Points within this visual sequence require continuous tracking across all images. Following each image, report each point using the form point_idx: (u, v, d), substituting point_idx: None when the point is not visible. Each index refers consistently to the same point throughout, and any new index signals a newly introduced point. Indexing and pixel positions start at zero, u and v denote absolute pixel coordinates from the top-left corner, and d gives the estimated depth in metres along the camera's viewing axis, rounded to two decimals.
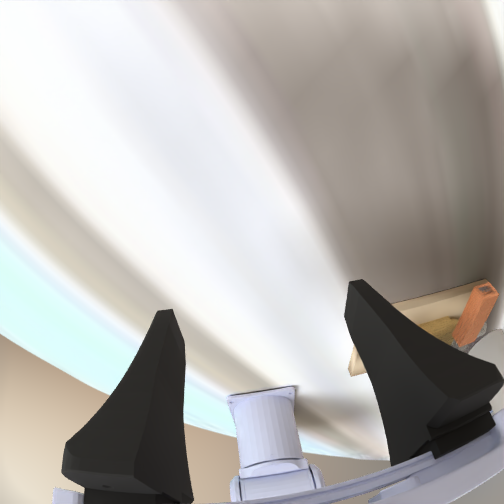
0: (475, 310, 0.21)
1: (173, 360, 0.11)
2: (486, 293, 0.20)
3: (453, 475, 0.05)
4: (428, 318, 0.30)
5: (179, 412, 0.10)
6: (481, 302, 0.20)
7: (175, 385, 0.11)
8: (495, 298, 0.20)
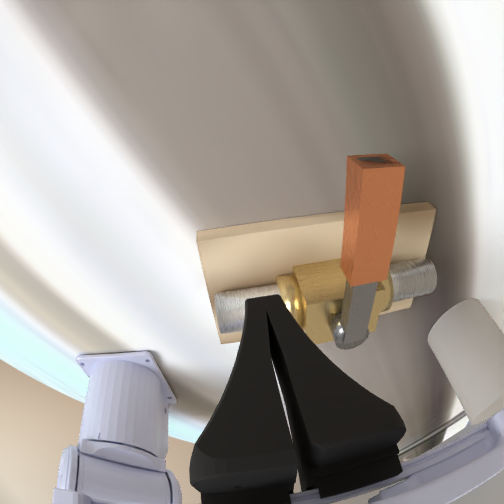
0: (357, 200, 0.13)
1: None
2: (374, 163, 0.12)
3: (453, 475, 0.05)
4: (322, 254, 0.21)
5: None
6: (360, 178, 0.12)
7: None
8: (398, 174, 0.12)
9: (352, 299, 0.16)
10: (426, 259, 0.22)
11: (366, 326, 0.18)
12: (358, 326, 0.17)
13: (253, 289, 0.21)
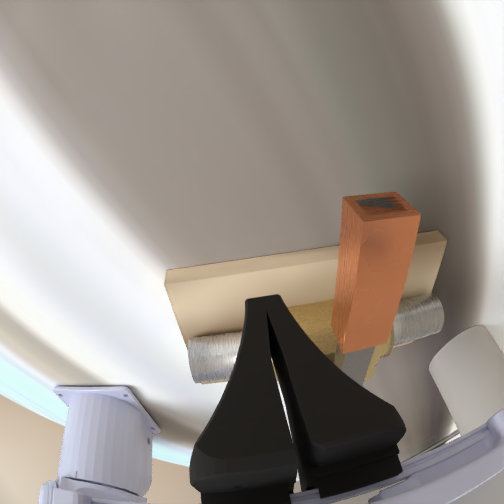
0: (354, 259, 0.10)
1: None
2: (379, 210, 0.09)
3: (453, 475, 0.05)
4: (313, 295, 0.18)
5: None
6: (359, 232, 0.09)
7: None
8: (411, 226, 0.09)
9: (344, 363, 0.13)
10: (433, 296, 0.19)
11: None
12: None
13: (232, 336, 0.18)
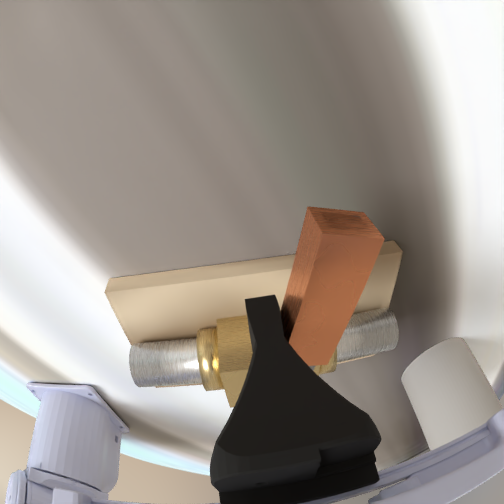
0: (307, 271, 0.10)
1: None
2: (341, 225, 0.09)
3: (453, 475, 0.05)
4: None
5: None
6: (317, 244, 0.09)
7: None
8: (372, 248, 0.09)
9: None
10: (387, 311, 0.18)
11: None
12: None
13: (171, 343, 0.18)
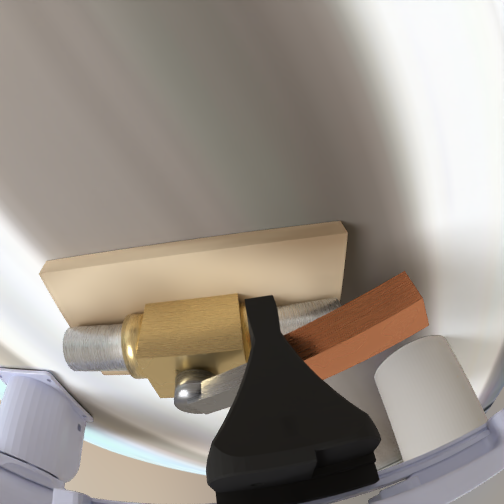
0: (382, 312, 0.11)
1: None
2: None
3: (453, 475, 0.05)
4: (179, 292, 0.17)
5: None
6: (411, 301, 0.11)
7: None
8: (420, 326, 0.11)
9: None
10: (334, 301, 0.17)
11: (225, 407, 0.14)
12: (221, 401, 0.13)
13: (102, 327, 0.17)
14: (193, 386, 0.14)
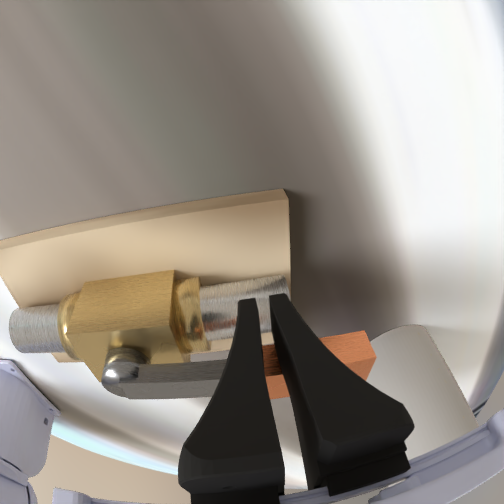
0: (340, 357, 0.13)
1: None
2: None
3: (453, 475, 0.05)
4: (115, 268, 0.15)
5: None
6: (366, 356, 0.13)
7: None
8: None
9: (205, 381, 0.12)
10: (279, 278, 0.16)
11: (153, 398, 0.13)
12: (154, 391, 0.12)
13: (44, 307, 0.15)
14: (131, 367, 0.12)
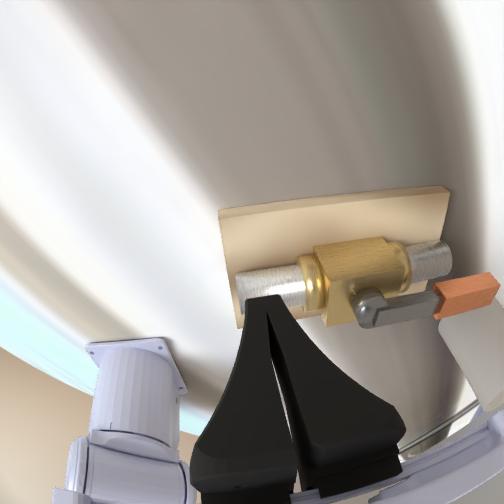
0: (485, 285, 0.18)
1: None
2: None
3: (453, 475, 0.05)
4: (342, 234, 0.21)
5: None
6: (496, 284, 0.18)
7: None
8: (489, 302, 0.19)
9: (428, 302, 0.18)
10: (441, 242, 0.21)
11: (391, 323, 0.19)
12: (396, 316, 0.18)
13: (274, 269, 0.21)
14: (383, 299, 0.18)
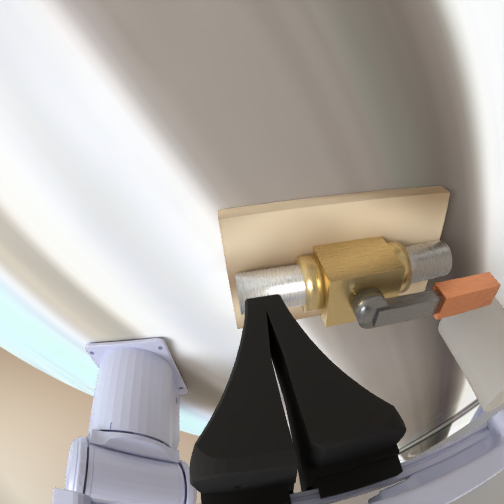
0: (485, 285, 0.18)
1: None
2: None
3: (453, 475, 0.05)
4: (342, 234, 0.21)
5: None
6: (496, 284, 0.18)
7: None
8: (489, 302, 0.19)
9: (428, 302, 0.18)
10: (441, 242, 0.21)
11: (391, 323, 0.19)
12: (396, 316, 0.18)
13: (274, 269, 0.21)
14: (383, 299, 0.18)
